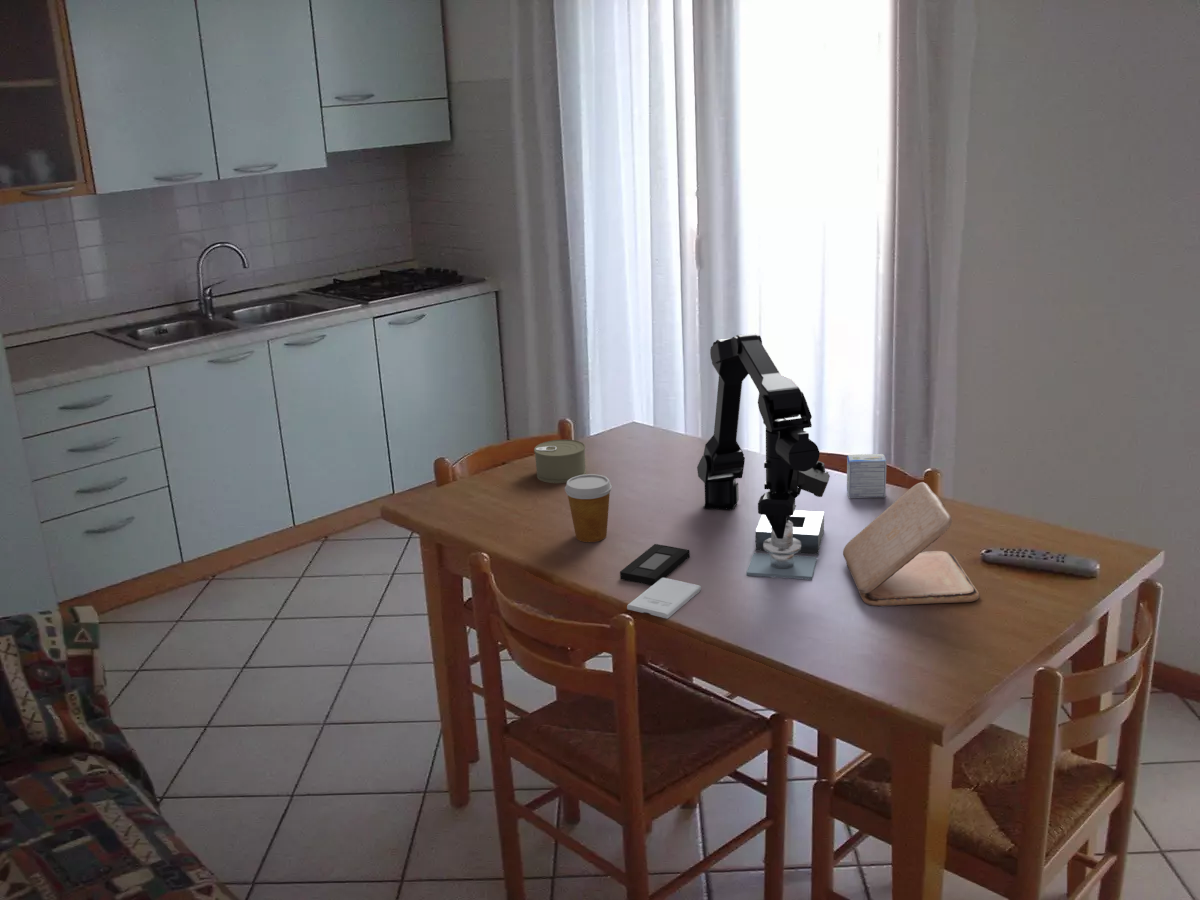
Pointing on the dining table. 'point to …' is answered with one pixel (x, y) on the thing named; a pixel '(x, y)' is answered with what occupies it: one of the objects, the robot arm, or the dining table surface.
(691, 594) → the external hard drive
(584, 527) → the disposable coffee cup
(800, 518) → the frame
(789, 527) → the silver door knob
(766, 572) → the mat
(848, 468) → the medicine box
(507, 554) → the dining table surface
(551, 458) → the can
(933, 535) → the case
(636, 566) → the vhs tape
